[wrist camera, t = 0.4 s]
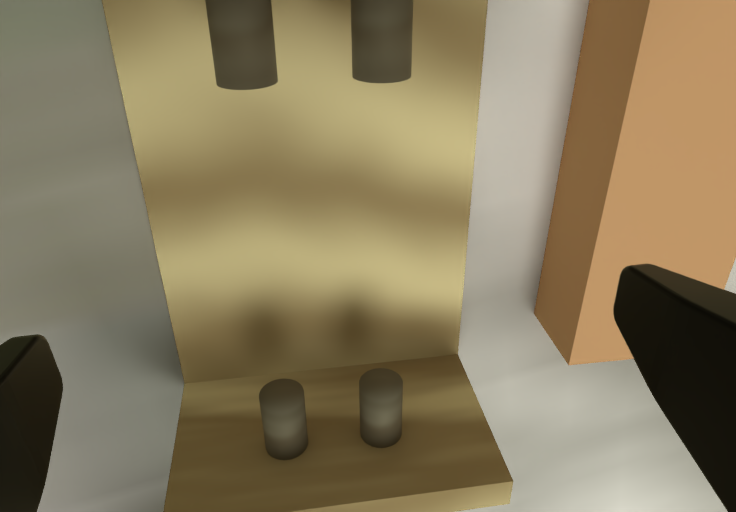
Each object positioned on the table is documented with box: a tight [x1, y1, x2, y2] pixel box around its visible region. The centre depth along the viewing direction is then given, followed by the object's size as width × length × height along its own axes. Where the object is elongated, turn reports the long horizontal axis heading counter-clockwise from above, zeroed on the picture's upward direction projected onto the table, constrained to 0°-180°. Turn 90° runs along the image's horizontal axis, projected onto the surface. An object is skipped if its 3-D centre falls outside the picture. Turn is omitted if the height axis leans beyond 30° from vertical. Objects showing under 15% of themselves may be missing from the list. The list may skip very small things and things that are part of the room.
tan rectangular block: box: [534, 0, 736, 365], centre depth 23 cm, size 14×6×4 cm, turn 0°
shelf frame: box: [102, 0, 513, 512], centre depth 20 cm, size 18×12×8 cm, turn 1°
